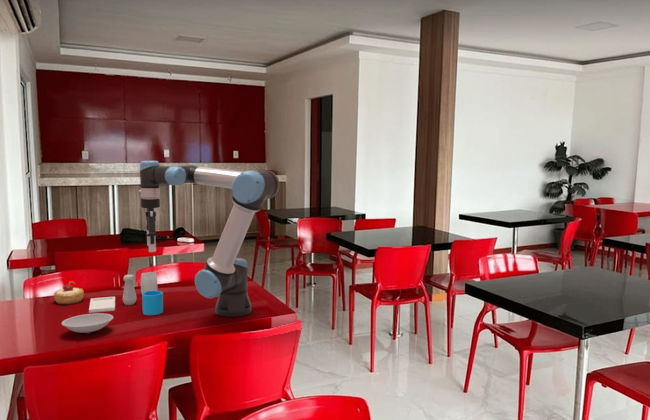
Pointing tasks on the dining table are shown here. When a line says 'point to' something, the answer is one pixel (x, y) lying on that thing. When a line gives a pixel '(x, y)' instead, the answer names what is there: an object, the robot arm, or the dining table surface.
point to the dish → (87, 322)
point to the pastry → (68, 295)
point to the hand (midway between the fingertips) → (151, 248)
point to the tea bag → (148, 282)
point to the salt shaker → (129, 290)
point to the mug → (152, 302)
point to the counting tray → (102, 304)
